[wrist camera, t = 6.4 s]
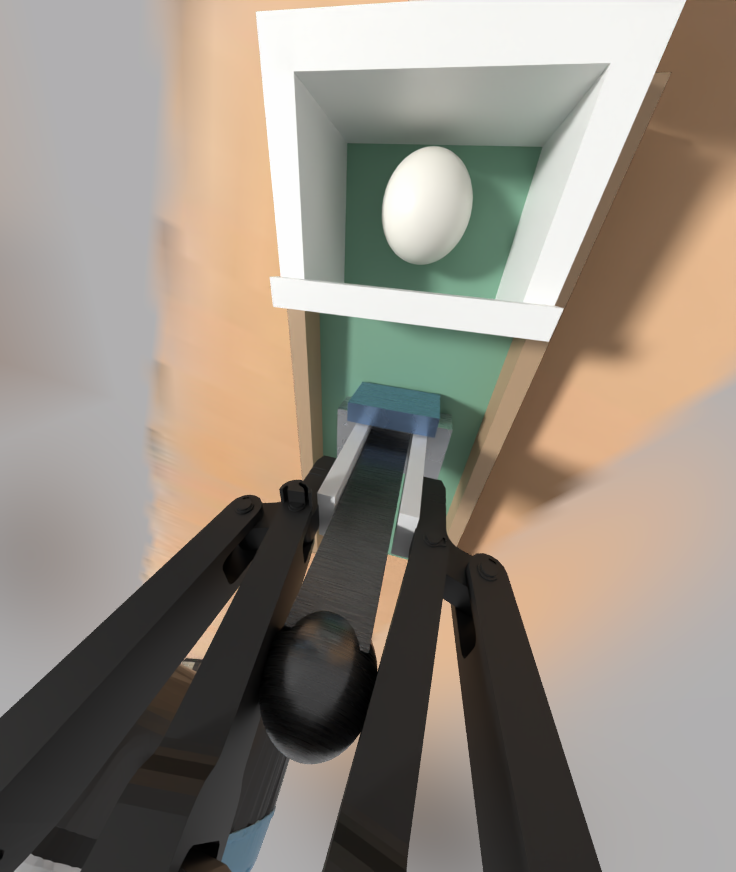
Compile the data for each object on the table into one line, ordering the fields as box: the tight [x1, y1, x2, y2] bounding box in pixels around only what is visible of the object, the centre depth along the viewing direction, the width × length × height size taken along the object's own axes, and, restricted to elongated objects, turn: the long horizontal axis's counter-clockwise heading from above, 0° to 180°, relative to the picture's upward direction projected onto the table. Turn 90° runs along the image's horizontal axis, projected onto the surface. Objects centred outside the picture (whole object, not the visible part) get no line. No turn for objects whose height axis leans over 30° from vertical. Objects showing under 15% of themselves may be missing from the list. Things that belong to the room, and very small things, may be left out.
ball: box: [382, 146, 473, 265], centre depth 11 cm, size 4×4×4 cm
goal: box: [256, 0, 686, 342], centre depth 10 cm, size 7×10×6 cm
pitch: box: [287, 72, 672, 559], centre depth 18 cm, size 30×13×3 cm, turn 175°
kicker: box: [259, 382, 453, 764], centre depth 12 cm, size 5×7×15 cm
